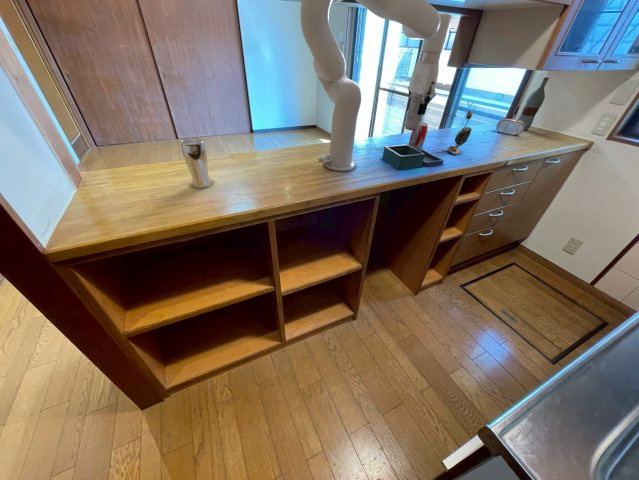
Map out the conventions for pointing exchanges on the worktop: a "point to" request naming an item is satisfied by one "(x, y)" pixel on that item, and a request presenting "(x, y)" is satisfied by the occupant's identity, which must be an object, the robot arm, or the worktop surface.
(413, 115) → the energy drink can
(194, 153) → the beer glass
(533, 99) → the bottle
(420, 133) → the soda can
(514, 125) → the tin
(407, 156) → the basket
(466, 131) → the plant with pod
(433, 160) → the tray
